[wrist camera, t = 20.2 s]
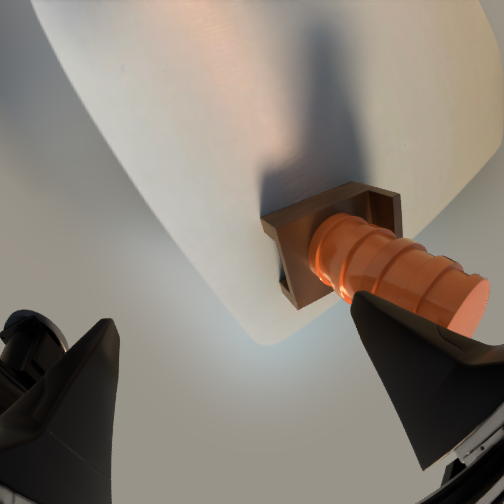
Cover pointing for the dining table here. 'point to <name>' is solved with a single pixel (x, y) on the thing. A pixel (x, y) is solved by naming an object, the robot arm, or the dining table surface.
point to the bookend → (310, 218)
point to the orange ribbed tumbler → (396, 272)
